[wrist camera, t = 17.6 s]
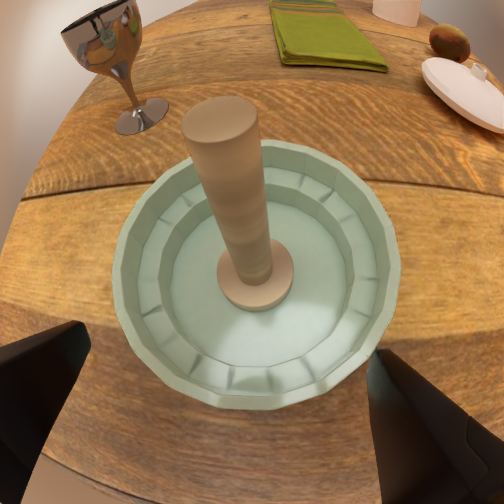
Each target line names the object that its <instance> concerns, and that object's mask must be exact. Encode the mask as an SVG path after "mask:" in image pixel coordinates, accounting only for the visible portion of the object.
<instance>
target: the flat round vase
mask: <svg viewBox="0 0 504 504" xmlns="http://www.w3.org/2000/svg"><path fill="white" fill-rule="evenodd" d="M422 73H423V78H424V80H425V82H426V83H427V85H428V86H429V87H430V88H431V89H432V91H433V92H434V93H435V94H436V95H437V96H439V97H440V98H441V99H442V100H443V101H444V102H445V103H446V104H447V105H448V106H449V107H450V108H452V109H453V110H454V111H456V112H457V113H458V114H460V115H461V116H463V117H464V118H466V119H467V120H469V121H471V122H473V123H475V124H477V125H479V126H481V127H483V128H486V129H488V130H491V131H493V132H497V133H501V134H504V96H503V95H502V93H501V92H500V91H499V90H498V89H497V88H496V87H494V86H493V85H492V84H491V83H490V82H489V81H487V80H486V79H485V78H486V75H487V71H486V69H484V68H483V67H482V66H480V65H479V64H476V63H473V66H472V68H471V69H469V68H467V67H465V66H463V65H461V64H459V63H457V62H454V61H451V60H448V59H444V58H436V57H434V58H430V59H427V60H425V61H424V62H423V63H422Z"/></svg>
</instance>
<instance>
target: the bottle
mask: <svg viewBox="0 0 504 504" xmlns="http://www.w3.org/2000/svg"><path fill="white" fill-rule="evenodd" d="M421 1H422V0H373V10H372V13H373V14H374V15H376V16H377V17H379V18H382V19H384V20H387V21H389V22H392V23H396V24H399V25H403V26H408V27H416V26H417V21H418V17H419V12H420V6H421Z"/></svg>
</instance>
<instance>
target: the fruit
mask: <svg viewBox="0 0 504 504" xmlns="http://www.w3.org/2000/svg"><path fill="white" fill-rule="evenodd" d="M429 42H430V44H431V48H432V49H433V51H434V52H435V53H436V54H437V55H439V56H440V57H441V58H444V59H448V60H451V61H454V62H457V63H462V62H464V61H465V60H467V59H468V57H469V55H470V44H469V41H468V39H467V37H466V36H465V35H464V34H463V33H462V31H461V30H460V29H458V28H457V27H455V26H453V25H450V24H440V25H437V26H435V27H434V28H433V29H432V31H431V32H430V38H429Z"/></svg>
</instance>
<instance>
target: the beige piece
mask: <svg viewBox="0 0 504 504" xmlns="http://www.w3.org/2000/svg"><path fill="white" fill-rule="evenodd" d="M180 127H181V132H182V134H183V137H184V140H185V142H186V145H187V148H188V150H189V153H190V156H191V158H192V161H193V163H194V166H195V169H196V171H197V174H198V176H199V179H200V182H201V184H202V187H203V189H204V192H205V194H206V197H207V200H208V202H209V205H210V207H211V210H212V212H213V215H214V217H215V220H216V222H217V225H218V227H219V230H220V232H221V235H222V237H223V240H224V242H225V245H226V247H227V248H226V249H225V250H224V252H223V253H222V255H221V257H220V259H219V262H218V265H217V279H218V283H219V286H220V288H221V290H222V291H223V293H224V294H225V296H226V297H227V299H228V300H229V301H230V302H231V303H232V304H233V305H235V306H236V307H238V308H239V309H242V310H244V311H248V312H264V311H268V310H270V309H273V308H274V307H276V306H278V305H279V304H280V303H282V302H283V301H284V300H285V298H286V297H287V296H288V294H289V292H290V290H291V287H292V283H293V274H294V266H293V261H292V258H291V256H290V254H289V252H288V250H287V249H286V248H285V247H284V246H283V245H282V244H281V243H280V242H278V241H277V240H275V239H273V238H270V232H269V221H268V210H267V200H266V189H265V179H264V169H263V159H262V150H261V140H260V131H259V122H258V113H257V109H256V107H255V106H254V105H253V104H252V103H251V102H250V101H248V100H246V99H244V98H241V97H237V96H219V97H214V98H210V99H207V100H204V101H202V102H200V103H198V104H196V105H195V106H193V107H192V108H191V109H190V110H188V111H187V113H186V114H185V115H184V116H183V118H182V121H181V126H180Z"/></svg>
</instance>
